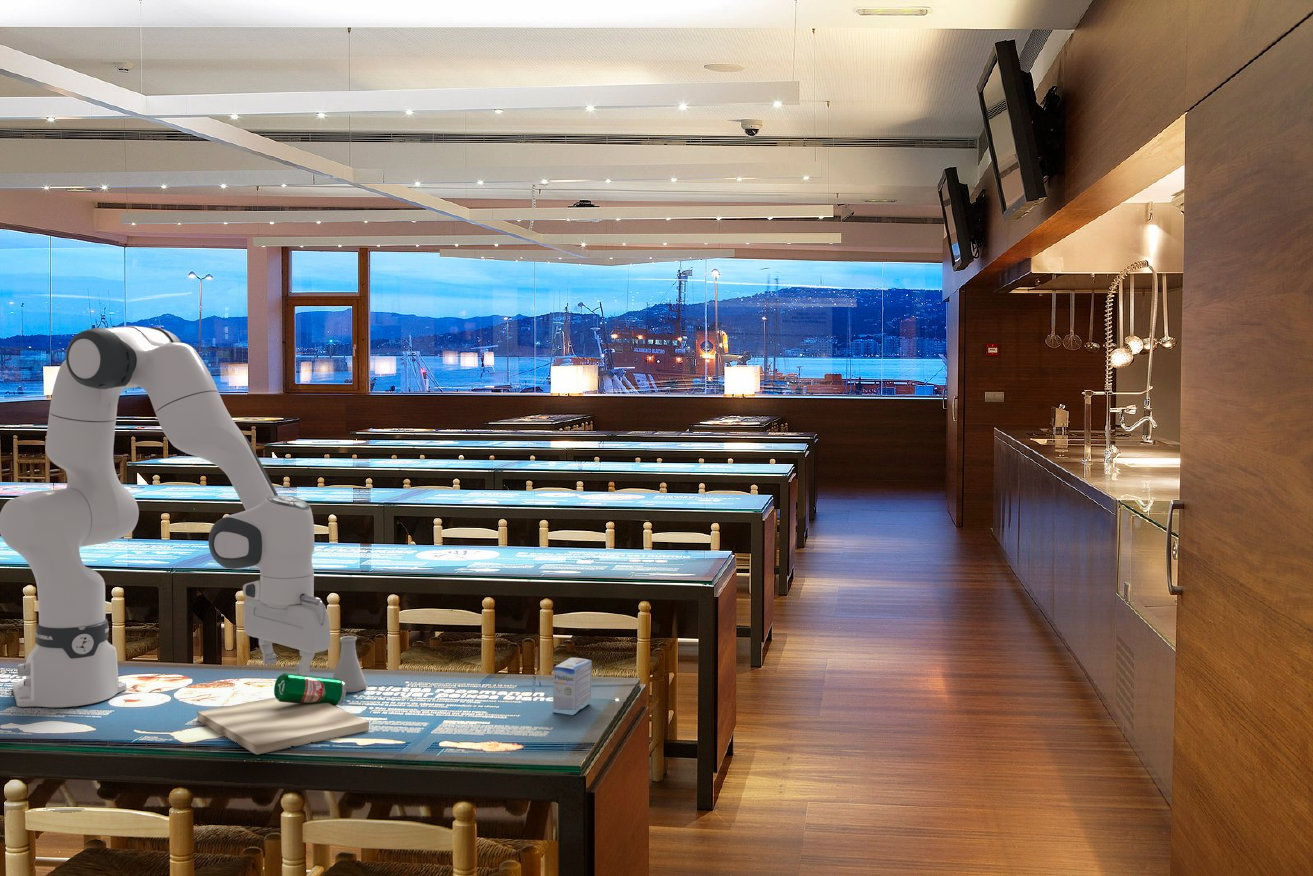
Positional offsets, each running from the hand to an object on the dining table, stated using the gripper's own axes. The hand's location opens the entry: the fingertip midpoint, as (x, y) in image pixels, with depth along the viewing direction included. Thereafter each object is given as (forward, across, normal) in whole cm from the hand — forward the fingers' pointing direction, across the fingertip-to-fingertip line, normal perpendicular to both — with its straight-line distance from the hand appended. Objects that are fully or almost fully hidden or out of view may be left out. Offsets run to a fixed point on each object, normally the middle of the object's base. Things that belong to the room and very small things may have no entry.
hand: (286, 669), depth 205 cm
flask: (+10, +10, -21) cm, 25 cm away
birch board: (+10, 0, +1) cm, 10 cm away
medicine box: (+9, -32, -39) cm, 51 cm away
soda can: (+4, +4, -2) cm, 6 cm away
